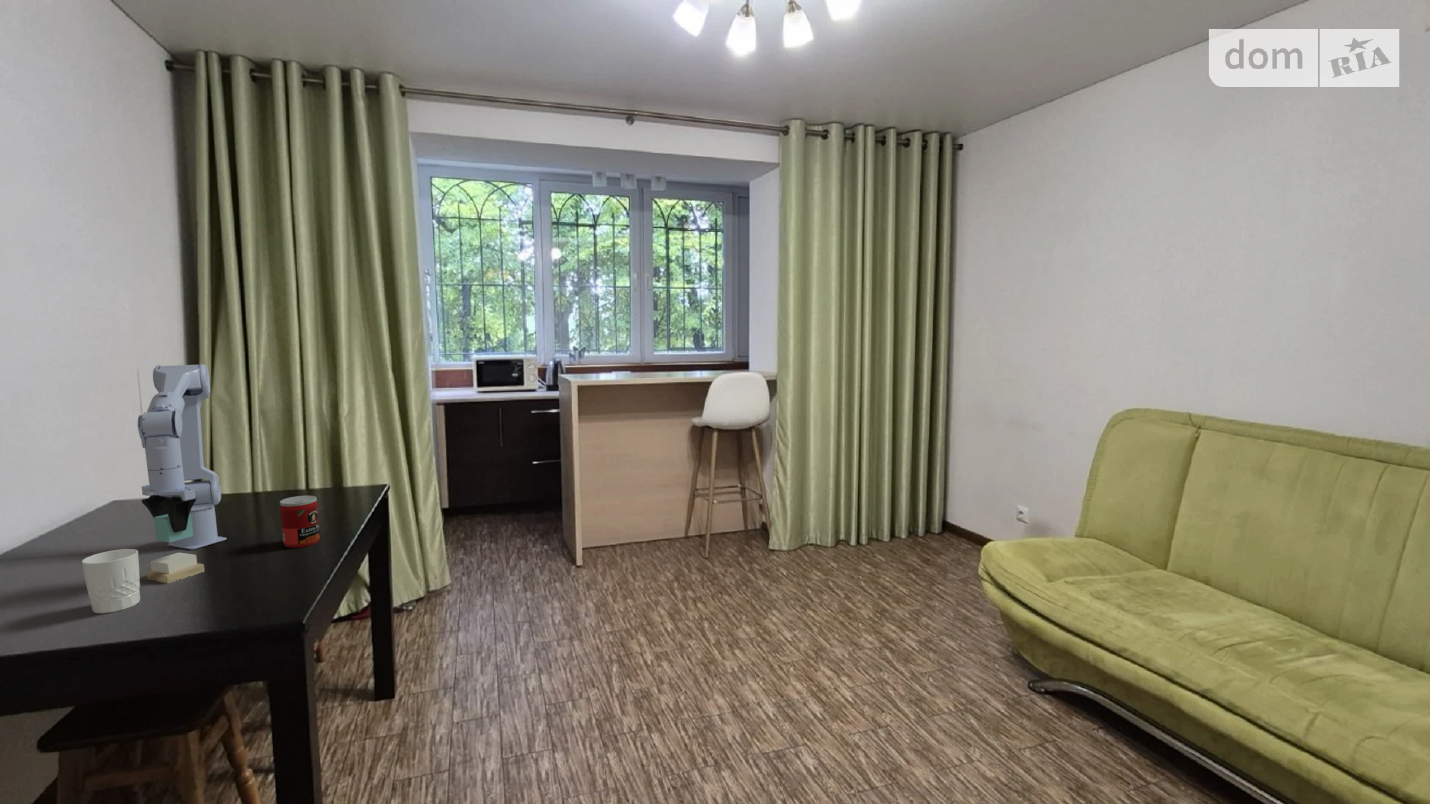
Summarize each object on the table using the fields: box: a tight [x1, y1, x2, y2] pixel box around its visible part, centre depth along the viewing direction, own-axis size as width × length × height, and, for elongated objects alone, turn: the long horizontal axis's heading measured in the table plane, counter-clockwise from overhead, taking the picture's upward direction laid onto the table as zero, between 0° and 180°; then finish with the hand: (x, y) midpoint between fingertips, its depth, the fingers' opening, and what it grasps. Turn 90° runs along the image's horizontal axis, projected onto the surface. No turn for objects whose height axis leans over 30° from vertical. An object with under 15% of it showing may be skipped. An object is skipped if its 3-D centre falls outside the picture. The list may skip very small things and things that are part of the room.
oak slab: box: [146, 562, 205, 584], centre depth 140 cm, size 7×7×2 cm
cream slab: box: [149, 552, 198, 574], centre depth 140 cm, size 6×6×2 cm
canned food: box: [279, 495, 321, 549], centre depth 160 cm, size 8×8×11 cm
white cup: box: [81, 548, 141, 614], centre depth 124 cm, size 8×8×10 cm
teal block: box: [153, 514, 193, 543], centre depth 140 cm, size 4×4×5 cm
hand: (172, 529), depth 139 cm, fingers closed on teal block, 4 cm apart
